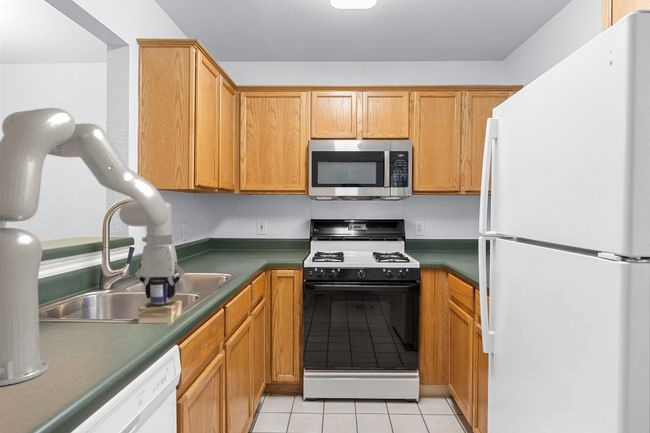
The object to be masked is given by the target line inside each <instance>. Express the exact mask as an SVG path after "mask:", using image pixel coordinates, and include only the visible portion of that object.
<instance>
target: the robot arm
mask: <svg viewBox="0 0 650 433" xmlns="http://www.w3.org/2000/svg"><path fill="white" fill-rule="evenodd" d="M1 127H2V128H1V130H2V133H3V137H2V138H1V139H0V387H2V386H9V384H10V385H13V384H14V385H15V384H19V383H21V382H25V381H28V380H30V379H33V378H36V377H38V376H40V375H42V374H43V373H45V372H46V371H47V370H48V369H49V361H48V360H47V359H44V358H41V356H40V355H41V354H40V350H41V349H40V320H39V319H40V316H39V314H40V313H39V312H40V311H39V310H40V309H39V275H40V274H39V272H40V266H41V263H42V257H43V247H42V246H43V245H42V244H41V241H40V240H39V238H38V237H37V236H36V235H35V234H33V233H32V232H30V231H28V230H25V229H21V228H15V227H7V222H8V223H11V222H14V223H15V222H16V223H17V222H24V221H27V220H30V219H32V218H33V217H34V216H35V215H36V213H37V212H38V208H39V204H40V203H39V202H40V194H41V185H42V184H41V183H42V173H43V168H44V163H45V159H46V158H47V156H48V155H50V156H55V157H60V158H61V157H62V158H79V159H80V158H81V160H82V161H83V162H84V164H85V165H86V167H87V168H88V169H89V171H90V173H92V175H93V176H94V178H95V179H96V180H97V182H98V183H99V184H100V185H101V186H103V187H104V188H106V189H109V190H111V191H114V192H116V193H120V194H122V195H125V196H127V197H129V198H130V199H132V200H133V201H129V202H126V203H125V204H123V205H121V207H120V209H119V212H118V214H119V219H120V221H121V222H122V223H123V224H124V225H126V226H130V227H146V229H145V230H146V236H145V237H142V240H141V242H145V244H146V245H143V249H142V255H141V263H140V264H141V267H140V268H138V269H137V271H136V272H134V276H135V277H136V278H137V279H139V281H140V282H141V283H142V284H143V285H144V286H145V291H144V292H145V296H146V299H150V280H151V278H160V277H167V279H168V281H169V283H170V285H169V286H168V297H169V298H171V299H172V298H174V296H175V294H176V284H177V283H178V282H179V281H180V280H181V278H182V277H184V276H185V275H186V272H185V271H184V270H183V269H182V268H181V267H180V266H179V265H178V258H177V252H176V246H175V244H173V213H172V204H171V203H170V202H167V201H165V199H164V198H163V197H162V195H161V193H160V191H159V190H158V189H157V188H156V187H155V186H154V185H153V183H151V182H149V181H148V180H147V179H146V178H144V177H143V176H141V175H140V174H138V172H135V171H133V170H132V169H130V168H129V166H128V164H127V163H126V162H125V161H124V158H123V157H122V155H120V152H118V150H117V148H116V146H115V145H114V144H113V141H112V140H111V139H110V137H109V135H108V134H107V133H106V132H105V130H104V129H103V128H102V127H101V126H99V124H98V125H97V124H96V123H95V124H94V123H75V119H74V117H73V115H72V114H71V113H69V111H67V110H64V109H61V108H58V107H47V108H38V109H30V110H23V111H22V110H21V111H16V112H13V113H11V114H8V115H7V116H6V117H5V118H4V119H3V121H2V124H1ZM177 273H178V275H177ZM175 275H177V276H175Z"/></svg>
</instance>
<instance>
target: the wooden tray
mask: <svg viewBox="0 0 650 433" xmlns="http://www.w3.org/2000/svg"><path fill="white" fill-rule="evenodd" d="M182 302H183V300H171V303H170V304H169V305H166V306H162V307H154V306H151V304H150V301H149V302H147V303H145V304H144V305H142V306H140V307H139V308H138V309H137V314H138V315H137V316H138V318H137V319H138V322H137V323H138V324H172V323H173V322H174V321H176V318H177V317H178V316H179V315H180V314H181V313H183V312H182V311H183V307H182V306H183V305H182ZM181 315H182V314H181ZM181 315H180V316H181ZM180 316H179V317H180ZM179 317H178V318H179ZM178 318H177V319H178ZM167 322H169V323H167Z"/></svg>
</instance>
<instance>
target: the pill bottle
mask: <svg viewBox="0 0 650 433" xmlns="http://www.w3.org/2000/svg"><path fill="white" fill-rule="evenodd" d="M169 285H170V283H169V281H168V279H167V277H160V278H151V280H150V298H149V299H150V301H149V302H150V304H151V306H154V307H162V306H166V305H169V304H170V303H171V301H172V298H169V297H168V286H169Z"/></svg>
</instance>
